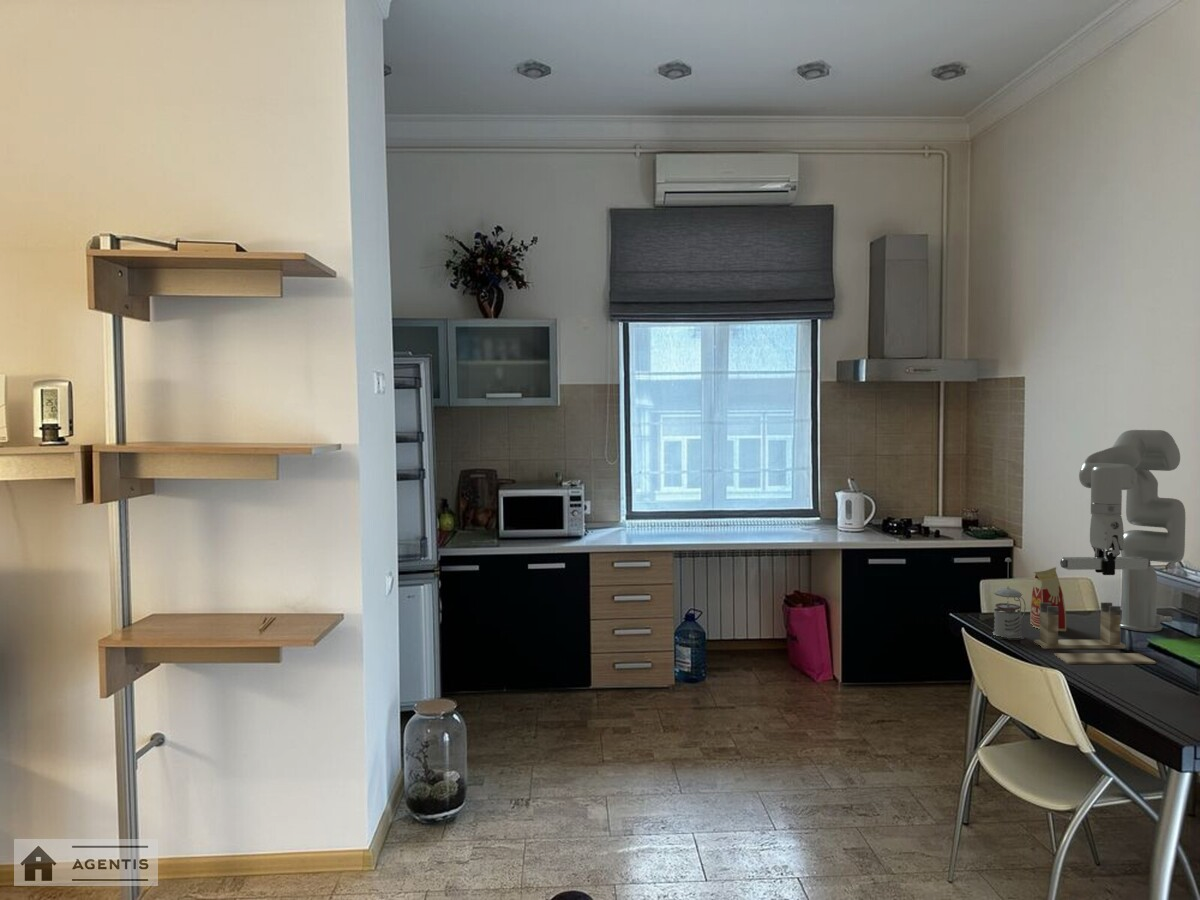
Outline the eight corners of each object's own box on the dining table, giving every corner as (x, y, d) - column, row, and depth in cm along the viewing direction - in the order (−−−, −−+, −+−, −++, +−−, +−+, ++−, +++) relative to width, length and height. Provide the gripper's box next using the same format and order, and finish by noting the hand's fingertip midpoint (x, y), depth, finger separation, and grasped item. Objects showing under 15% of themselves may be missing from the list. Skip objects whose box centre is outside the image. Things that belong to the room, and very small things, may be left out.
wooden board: (1139, 655, 247) (1139, 653, 247) (1155, 663, 239) (1155, 661, 239) (1054, 655, 248) (1054, 653, 248) (1067, 663, 240) (1067, 661, 240)
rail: (1144, 567, 243) (1145, 556, 243) (1151, 569, 240) (1151, 558, 240) (1059, 567, 245) (1059, 557, 244) (1064, 569, 242) (1064, 559, 241)
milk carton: (1055, 624, 283) (1056, 564, 282) (1067, 631, 274) (1068, 569, 272) (1026, 623, 284) (1027, 564, 283) (1038, 631, 274) (1038, 569, 273)
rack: (1114, 642, 260) (1115, 602, 259) (1125, 648, 254) (1126, 606, 253) (1034, 642, 261) (1034, 602, 261) (1043, 648, 255) (1043, 607, 255)
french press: (983, 634, 272) (984, 556, 270) (1010, 630, 276) (1010, 553, 275) (1009, 642, 263) (1009, 561, 261) (1036, 637, 267) (1037, 558, 266)
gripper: (1136, 512, 233) (1135, 579, 234) (1104, 505, 249) (1103, 568, 250) (1107, 513, 234) (1106, 579, 235) (1077, 506, 250) (1077, 568, 251)
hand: (1105, 573), depth 242 cm, fingers closed on rail, 3 cm apart
